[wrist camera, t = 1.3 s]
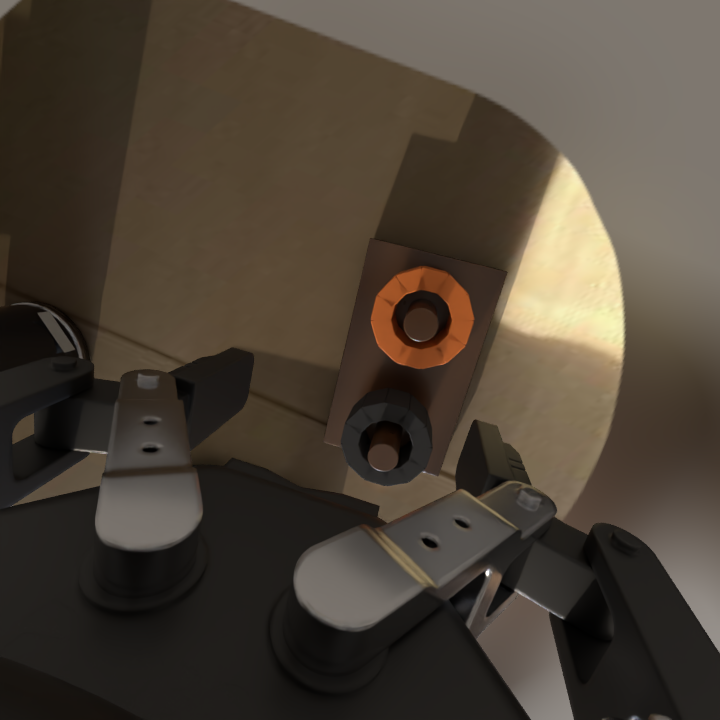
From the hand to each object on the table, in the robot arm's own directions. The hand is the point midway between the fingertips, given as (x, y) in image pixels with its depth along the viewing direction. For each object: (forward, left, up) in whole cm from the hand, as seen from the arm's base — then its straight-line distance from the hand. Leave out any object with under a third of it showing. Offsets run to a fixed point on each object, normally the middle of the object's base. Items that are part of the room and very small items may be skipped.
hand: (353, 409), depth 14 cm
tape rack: (+2, -3, -19) cm, 19 cm away
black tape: (+2, -7, -15) cm, 17 cm away
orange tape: (+2, +2, -15) cm, 15 cm away
